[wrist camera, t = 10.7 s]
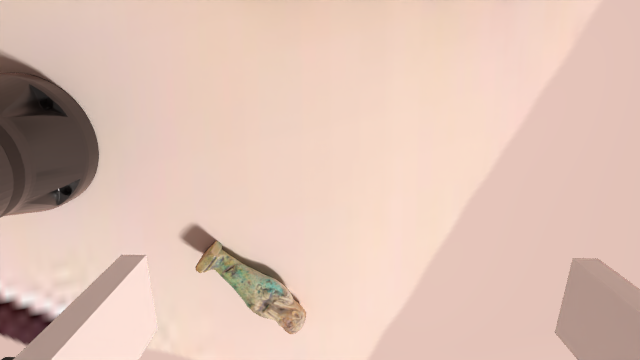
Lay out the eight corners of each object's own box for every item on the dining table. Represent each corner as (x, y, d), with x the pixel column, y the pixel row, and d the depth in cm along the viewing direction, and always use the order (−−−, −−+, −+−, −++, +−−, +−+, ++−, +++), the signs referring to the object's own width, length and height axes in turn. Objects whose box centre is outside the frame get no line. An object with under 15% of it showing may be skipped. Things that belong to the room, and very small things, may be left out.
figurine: (232, 226, 45) (224, 241, 41) (314, 306, 48) (313, 327, 45) (201, 251, 46) (190, 268, 43) (283, 328, 50) (280, 350, 46)
